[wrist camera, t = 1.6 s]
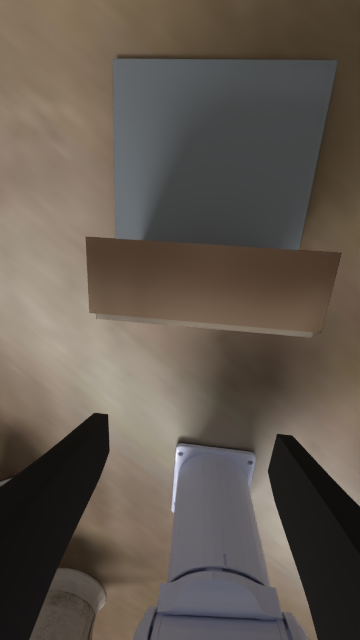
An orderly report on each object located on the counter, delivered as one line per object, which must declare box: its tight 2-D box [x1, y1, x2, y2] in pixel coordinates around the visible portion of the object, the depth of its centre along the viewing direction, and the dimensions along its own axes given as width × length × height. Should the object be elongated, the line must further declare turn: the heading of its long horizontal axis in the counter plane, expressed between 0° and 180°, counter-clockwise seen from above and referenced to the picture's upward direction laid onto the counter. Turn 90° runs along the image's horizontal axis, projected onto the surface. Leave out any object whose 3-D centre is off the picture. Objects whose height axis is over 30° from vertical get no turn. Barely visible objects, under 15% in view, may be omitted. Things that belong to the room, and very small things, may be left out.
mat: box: [113, 59, 338, 250], centre depth 15 cm, size 11×14×1 cm
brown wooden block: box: [86, 237, 342, 338], centre depth 13 cm, size 4×10×9 cm, turn 86°
